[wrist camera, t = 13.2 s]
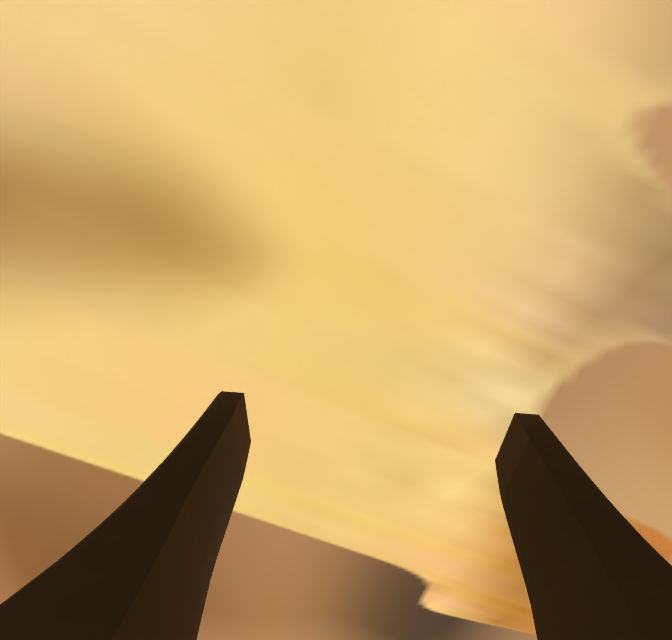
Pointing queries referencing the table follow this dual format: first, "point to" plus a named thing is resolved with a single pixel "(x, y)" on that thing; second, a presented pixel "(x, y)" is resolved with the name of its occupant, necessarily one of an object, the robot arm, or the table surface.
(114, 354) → the table surface
